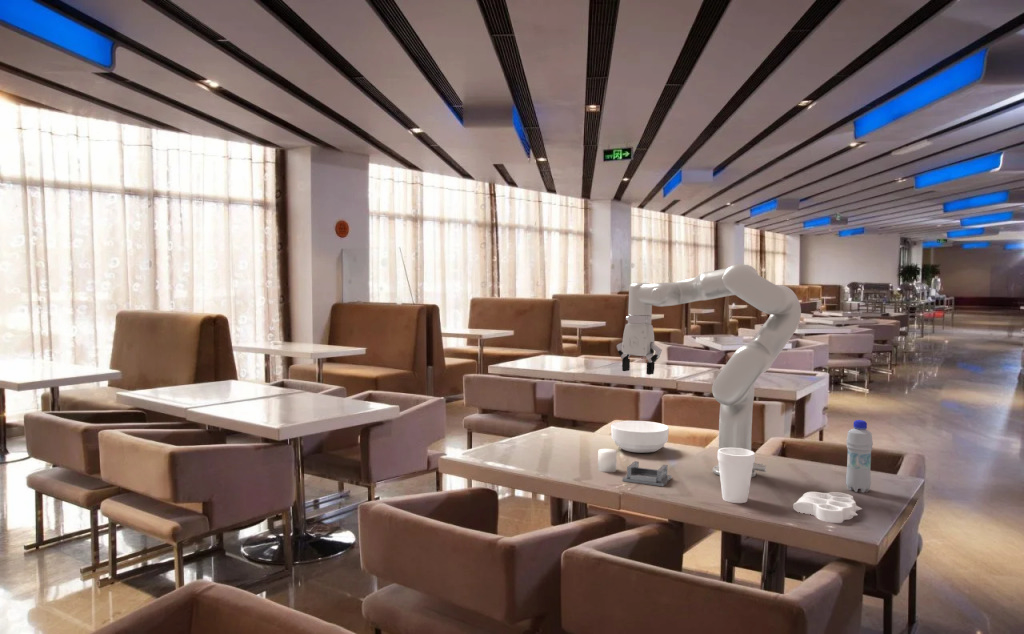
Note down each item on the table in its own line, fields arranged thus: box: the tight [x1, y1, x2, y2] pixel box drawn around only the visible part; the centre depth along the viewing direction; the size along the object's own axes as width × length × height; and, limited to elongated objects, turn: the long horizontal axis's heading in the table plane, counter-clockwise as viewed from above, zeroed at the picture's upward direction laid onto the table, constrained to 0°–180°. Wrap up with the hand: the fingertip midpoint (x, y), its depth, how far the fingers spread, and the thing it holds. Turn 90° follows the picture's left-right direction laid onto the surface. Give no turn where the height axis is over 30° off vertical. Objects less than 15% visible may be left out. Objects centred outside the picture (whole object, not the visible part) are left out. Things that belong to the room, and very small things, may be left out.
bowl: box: [610, 420, 670, 454], centre depth 243 cm, size 20×20×8 cm
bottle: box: [845, 419, 874, 493], centre depth 197 cm, size 7×7×20 cm
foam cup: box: [716, 448, 756, 504], centre depth 188 cm, size 10×9×13 cm
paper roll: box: [597, 448, 617, 473], centre depth 217 cm, size 6×6×6 cm
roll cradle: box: [622, 460, 672, 487], centre depth 207 cm, size 12×10×4 cm
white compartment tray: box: [792, 491, 863, 524], centre depth 179 cm, size 3×18×15 cm
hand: (637, 372), depth 230 cm, fingers open, 9 cm apart
